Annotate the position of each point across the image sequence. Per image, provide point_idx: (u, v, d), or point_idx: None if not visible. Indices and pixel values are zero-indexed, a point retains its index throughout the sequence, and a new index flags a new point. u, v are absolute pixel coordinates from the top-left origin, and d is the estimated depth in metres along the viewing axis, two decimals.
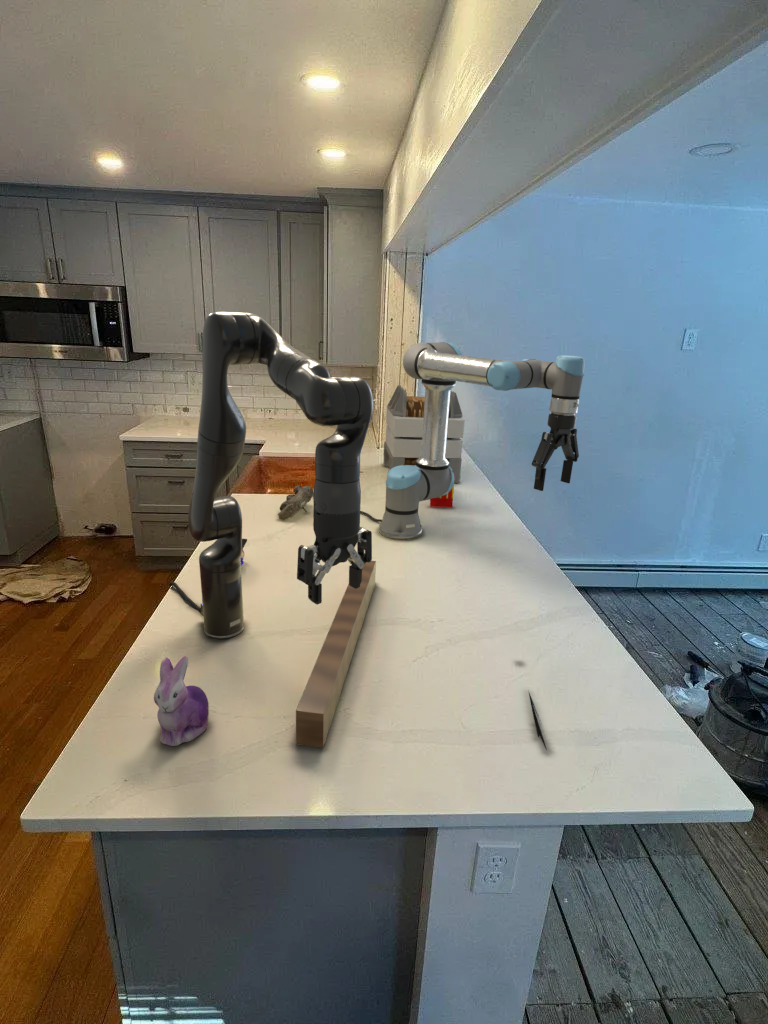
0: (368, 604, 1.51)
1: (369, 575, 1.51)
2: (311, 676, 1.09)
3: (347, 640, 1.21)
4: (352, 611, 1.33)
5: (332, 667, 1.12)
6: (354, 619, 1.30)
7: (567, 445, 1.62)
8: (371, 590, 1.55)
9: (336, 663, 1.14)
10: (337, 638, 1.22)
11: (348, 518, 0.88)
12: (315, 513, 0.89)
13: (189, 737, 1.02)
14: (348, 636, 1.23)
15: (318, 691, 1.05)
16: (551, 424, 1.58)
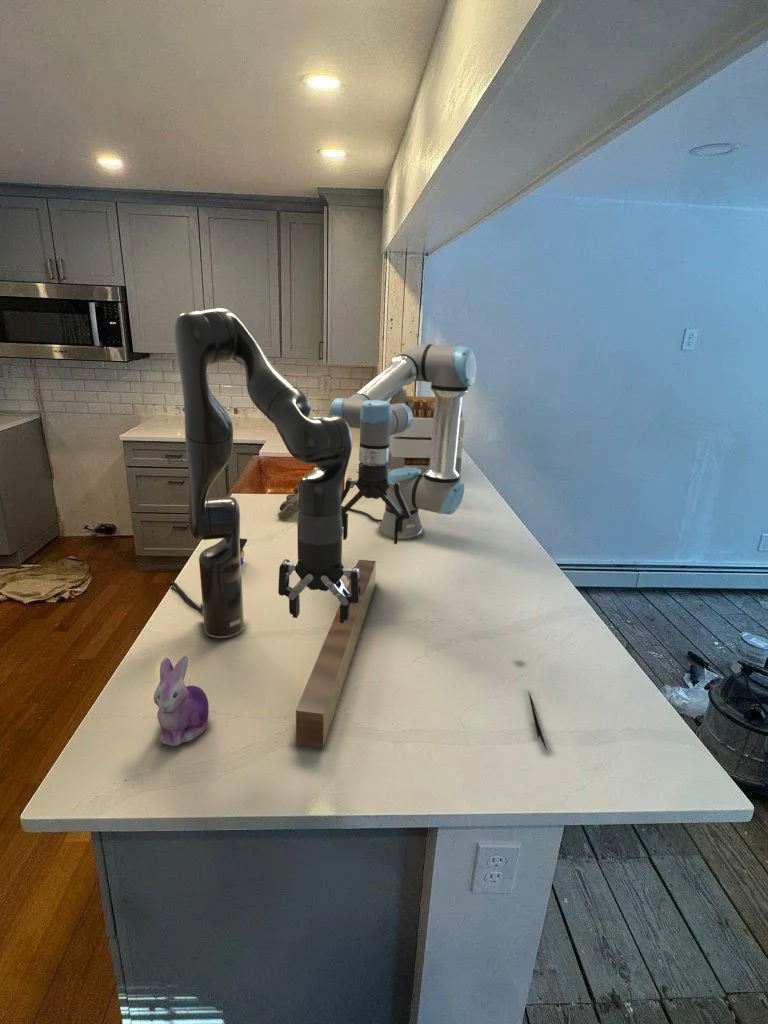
0: (368, 604, 1.51)
1: (369, 575, 1.51)
2: (311, 676, 1.09)
3: (347, 640, 1.21)
4: (352, 611, 1.33)
5: (332, 667, 1.12)
6: (354, 619, 1.30)
7: None
8: (371, 590, 1.55)
9: (336, 663, 1.14)
10: (337, 638, 1.22)
11: None
12: (339, 544, 0.95)
13: (189, 737, 1.02)
14: (348, 636, 1.23)
15: (318, 691, 1.05)
16: None
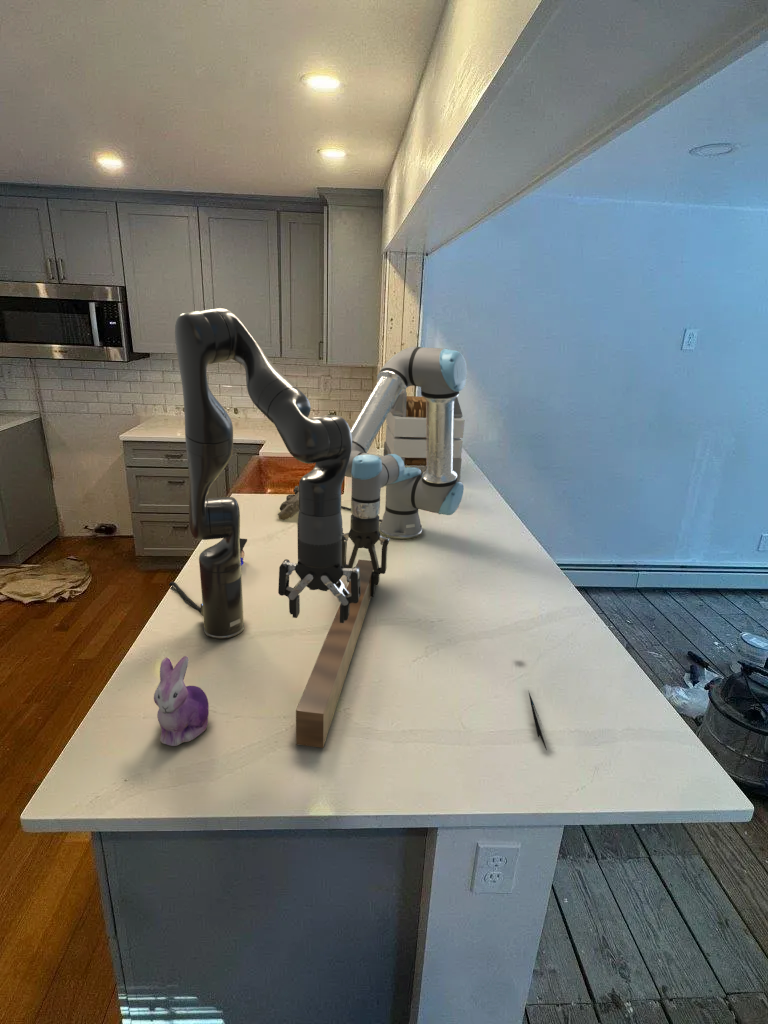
0: (368, 604, 1.51)
1: (369, 575, 1.51)
2: (311, 676, 1.09)
3: (347, 640, 1.21)
4: (352, 611, 1.33)
5: (332, 667, 1.12)
6: (354, 619, 1.30)
7: None
8: None
9: (336, 663, 1.14)
10: (337, 638, 1.22)
11: None
12: (339, 544, 0.95)
13: (189, 737, 1.02)
14: (348, 636, 1.23)
15: (318, 691, 1.05)
16: None
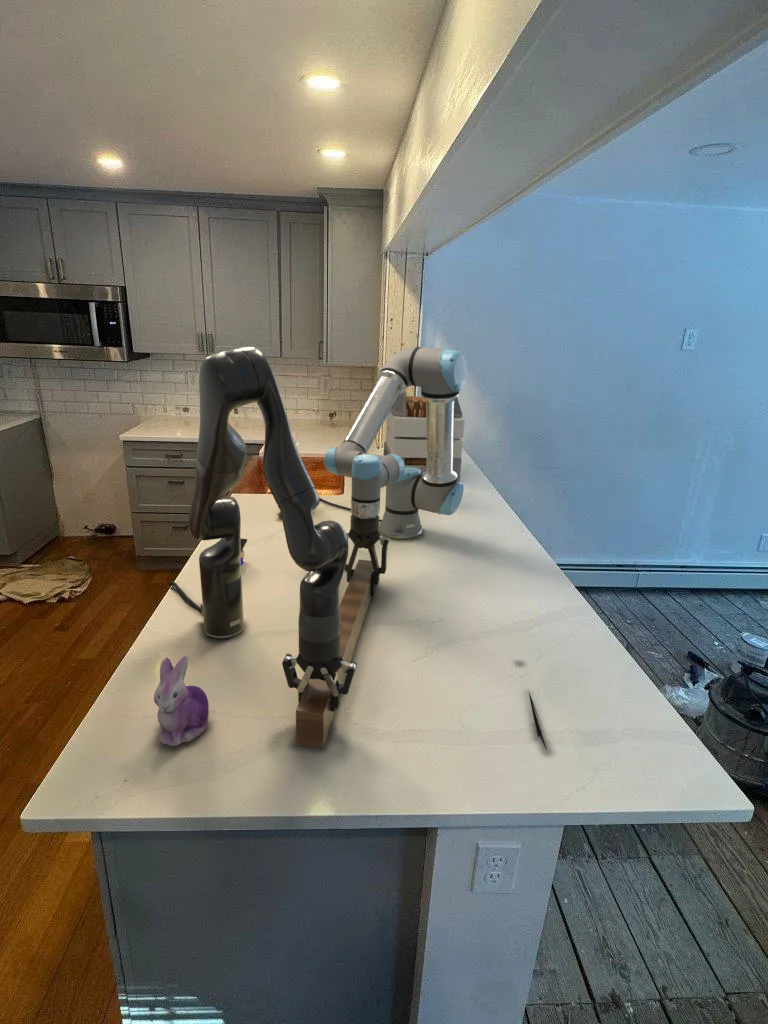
0: (368, 604, 1.51)
1: (369, 575, 1.51)
2: None
3: (347, 640, 1.21)
4: (352, 611, 1.33)
5: None
6: (354, 619, 1.30)
7: None
8: None
9: None
10: None
11: None
12: (338, 639, 1.01)
13: (189, 737, 1.02)
14: (348, 636, 1.23)
15: (318, 691, 1.05)
16: None
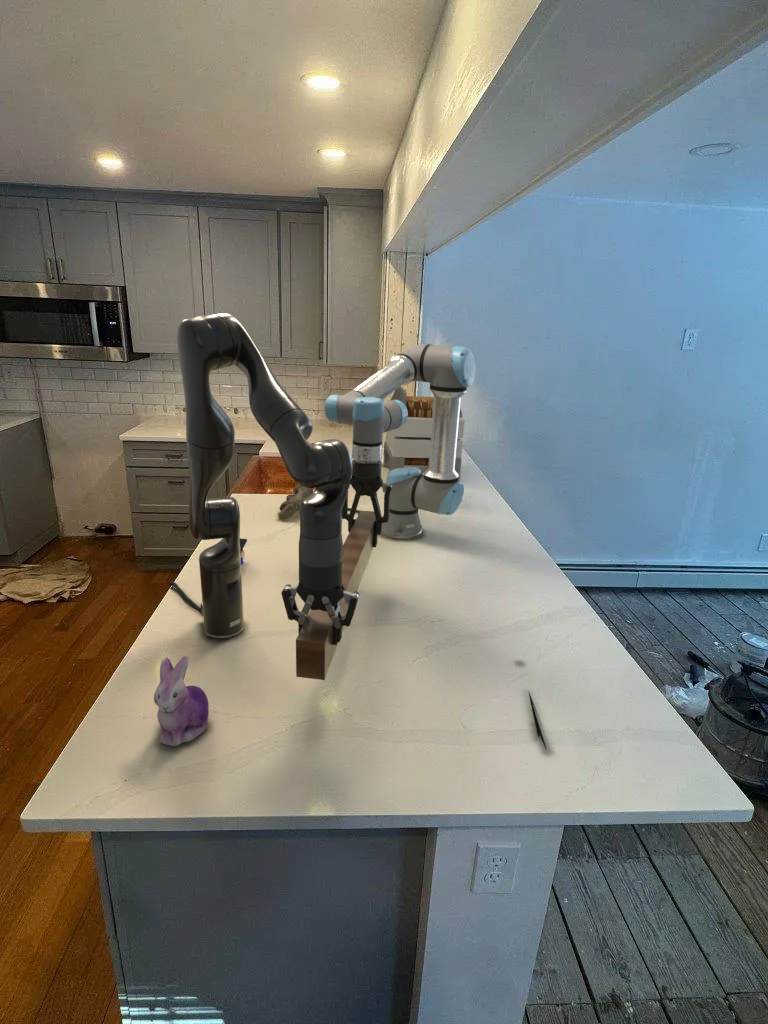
0: (370, 553, 1.46)
1: (371, 524, 1.46)
2: (312, 610, 1.04)
3: (349, 579, 1.17)
4: (354, 554, 1.28)
5: None
6: (356, 561, 1.25)
7: None
8: None
9: None
10: None
11: None
12: (340, 565, 0.96)
13: (189, 737, 1.02)
14: (350, 575, 1.18)
15: (319, 622, 1.00)
16: None
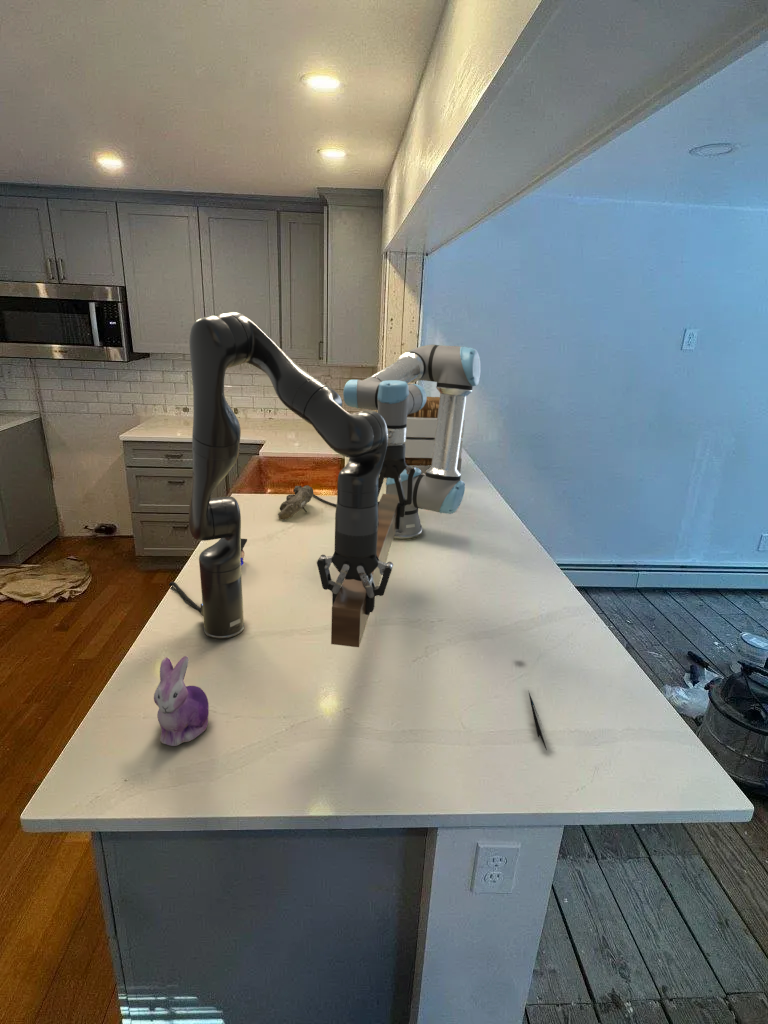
0: None
1: (395, 505, 1.49)
2: (345, 581, 1.06)
3: (378, 554, 1.19)
4: (381, 532, 1.30)
5: None
6: (383, 538, 1.27)
7: None
8: (396, 522, 1.52)
9: None
10: None
11: None
12: (375, 535, 0.98)
13: (189, 737, 1.02)
14: (379, 551, 1.20)
15: (353, 592, 1.02)
16: None
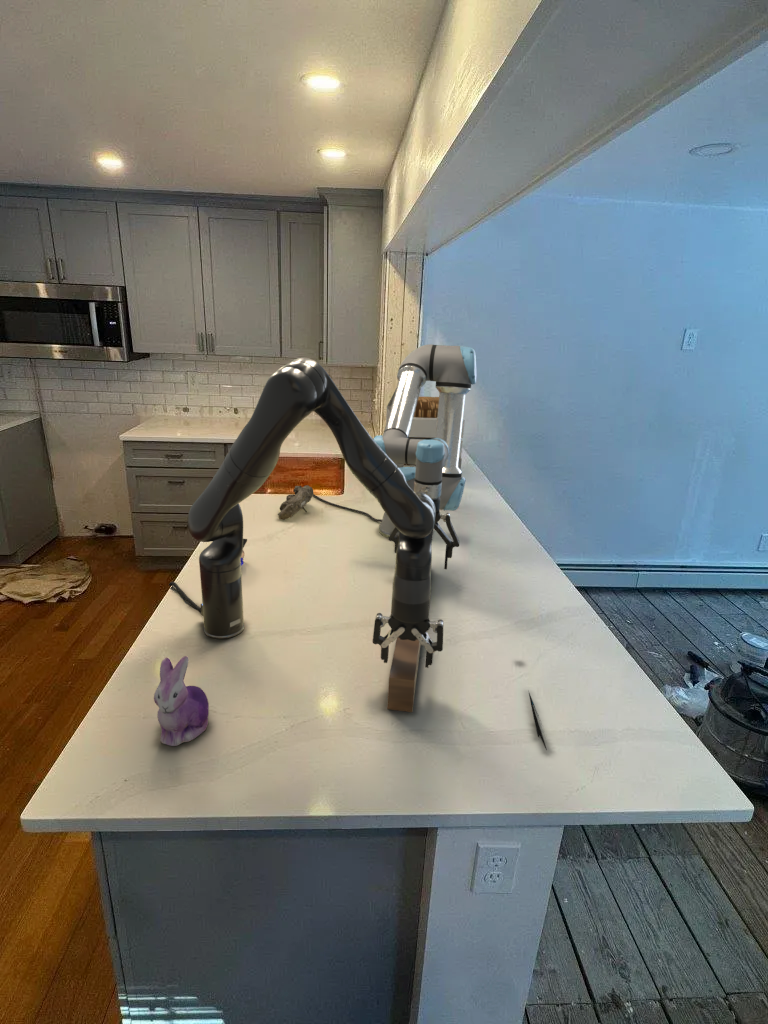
0: None
1: None
2: (396, 648, 1.19)
3: None
4: None
5: None
6: None
7: None
8: None
9: None
10: None
11: None
12: (428, 602, 1.11)
13: (189, 737, 1.02)
14: None
15: (405, 661, 1.15)
16: None
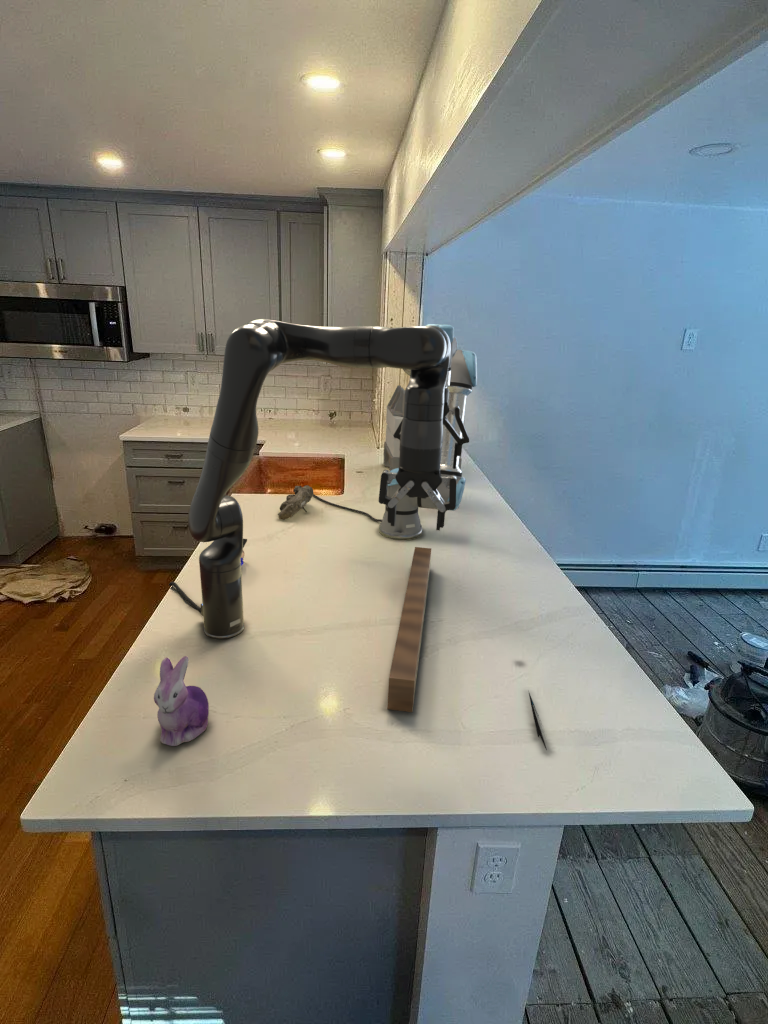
0: (427, 588, 1.61)
1: (428, 561, 1.61)
2: (396, 648, 1.19)
3: (421, 618, 1.31)
4: (420, 593, 1.43)
5: (413, 640, 1.22)
6: (423, 600, 1.40)
7: None
8: None
9: (416, 637, 1.24)
10: (411, 616, 1.32)
11: None
12: (440, 451, 1.00)
13: (189, 737, 1.02)
14: (421, 614, 1.33)
15: (405, 661, 1.15)
16: None
